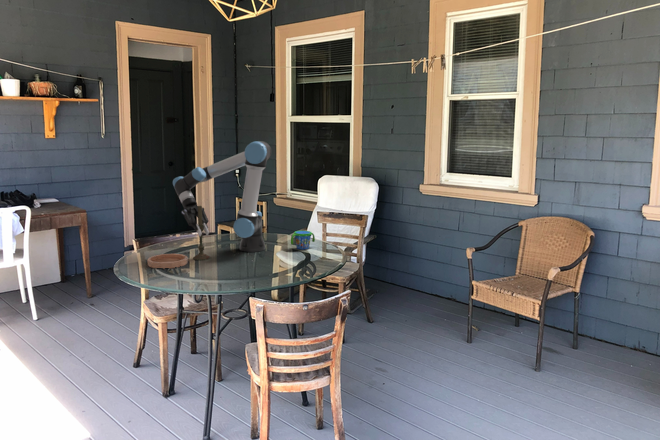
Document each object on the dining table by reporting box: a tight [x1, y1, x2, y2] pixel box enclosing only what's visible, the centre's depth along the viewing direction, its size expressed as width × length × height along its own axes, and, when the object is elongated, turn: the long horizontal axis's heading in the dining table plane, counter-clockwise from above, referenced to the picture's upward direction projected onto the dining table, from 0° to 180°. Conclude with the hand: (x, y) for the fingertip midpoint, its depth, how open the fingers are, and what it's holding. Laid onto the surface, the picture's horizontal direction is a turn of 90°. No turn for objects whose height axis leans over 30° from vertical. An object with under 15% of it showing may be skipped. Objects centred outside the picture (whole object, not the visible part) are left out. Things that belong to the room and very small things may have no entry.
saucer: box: [147, 253, 188, 270], centre depth 279 cm, size 20×20×3 cm
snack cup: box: [290, 230, 316, 250], centre depth 316 cm, size 16×10×10 cm
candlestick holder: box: [192, 205, 211, 261], centre depth 288 cm, size 9×9×30 cm
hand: (204, 234), depth 286 cm, fingers closed on candlestick holder, 4 cm apart
